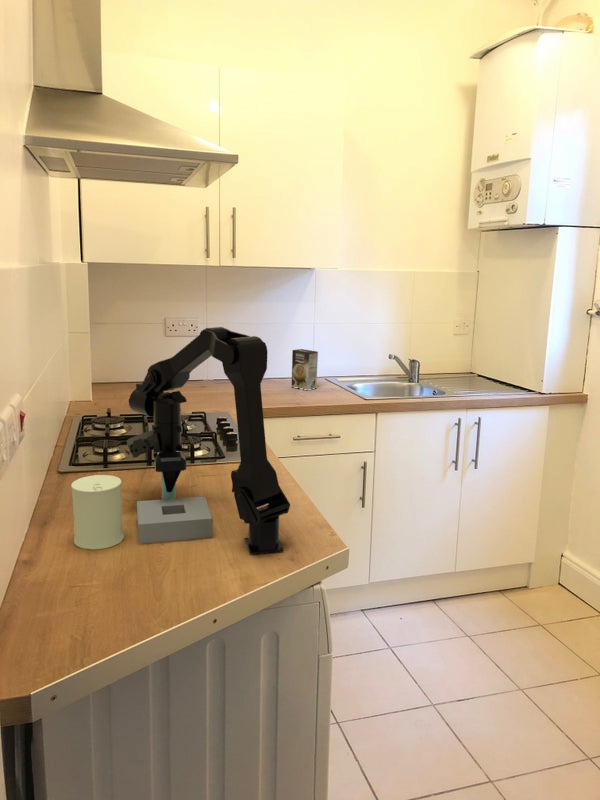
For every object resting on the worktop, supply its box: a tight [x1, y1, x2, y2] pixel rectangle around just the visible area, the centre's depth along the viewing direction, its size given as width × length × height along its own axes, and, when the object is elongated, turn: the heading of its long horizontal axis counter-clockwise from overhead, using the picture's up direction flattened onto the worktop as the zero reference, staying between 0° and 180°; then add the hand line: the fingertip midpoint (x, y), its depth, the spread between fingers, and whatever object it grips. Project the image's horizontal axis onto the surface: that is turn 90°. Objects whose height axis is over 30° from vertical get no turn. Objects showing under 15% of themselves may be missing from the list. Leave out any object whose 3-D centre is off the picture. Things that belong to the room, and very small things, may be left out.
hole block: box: [136, 495, 213, 545], centre depth 130 cm, size 12×14×4 cm
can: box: [70, 474, 125, 550], centre depth 123 cm, size 9×9×12 cm
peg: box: [160, 472, 177, 500], centre depth 141 cm, size 3×3×10 cm
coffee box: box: [291, 348, 319, 390], centre depth 268 cm, size 9×6×16 cm
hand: (168, 489), depth 142 cm, fingers closed on peg, 3 cm apart
